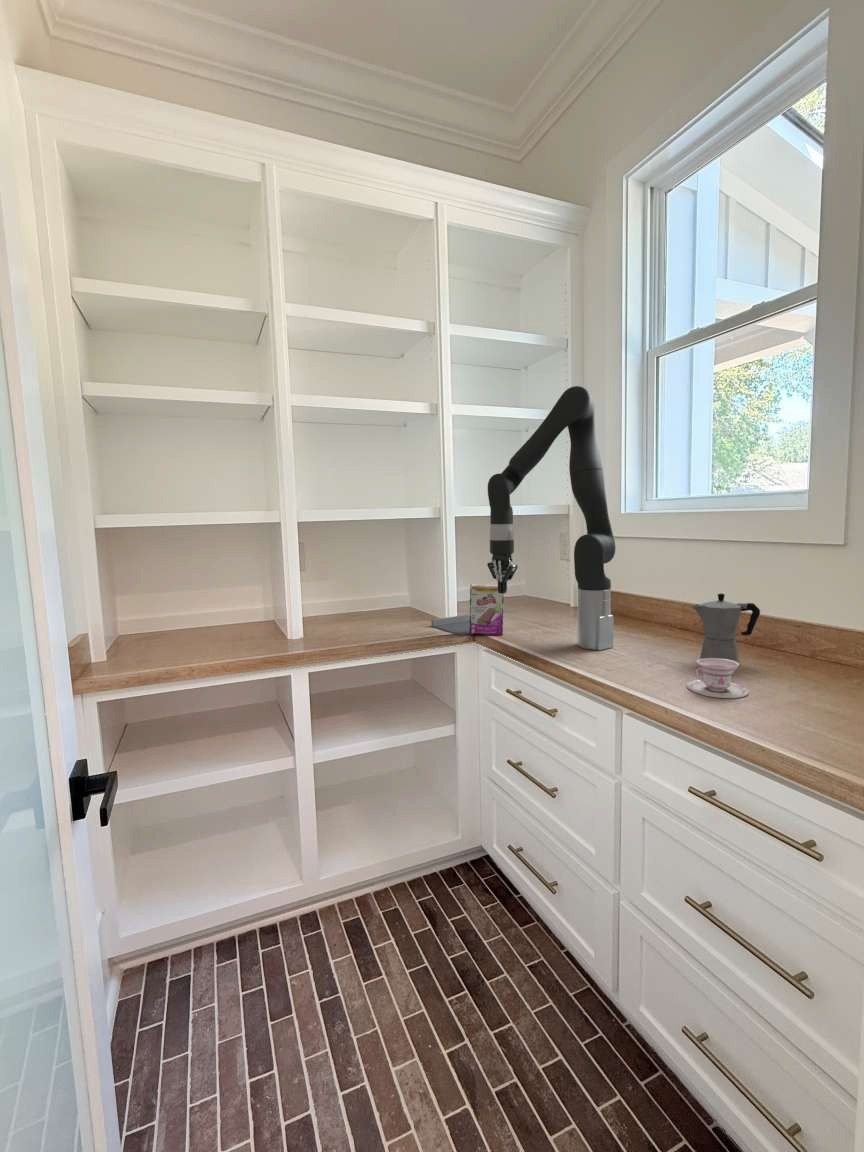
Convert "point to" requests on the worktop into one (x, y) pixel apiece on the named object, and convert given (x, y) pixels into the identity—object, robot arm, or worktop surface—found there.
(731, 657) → the coffeepot
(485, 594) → the candy bar box
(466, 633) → the mat
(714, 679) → the teacup
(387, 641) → the worktop surface
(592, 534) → the robot arm
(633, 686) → the worktop surface
